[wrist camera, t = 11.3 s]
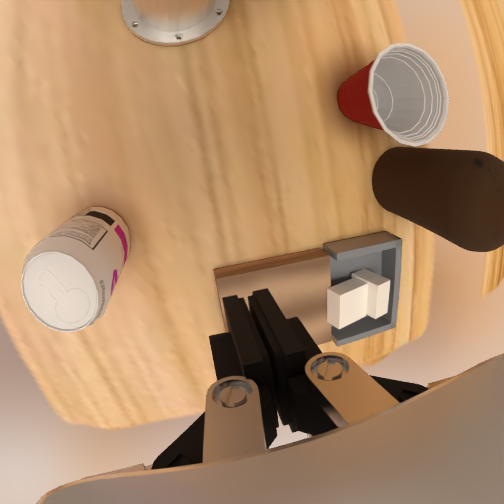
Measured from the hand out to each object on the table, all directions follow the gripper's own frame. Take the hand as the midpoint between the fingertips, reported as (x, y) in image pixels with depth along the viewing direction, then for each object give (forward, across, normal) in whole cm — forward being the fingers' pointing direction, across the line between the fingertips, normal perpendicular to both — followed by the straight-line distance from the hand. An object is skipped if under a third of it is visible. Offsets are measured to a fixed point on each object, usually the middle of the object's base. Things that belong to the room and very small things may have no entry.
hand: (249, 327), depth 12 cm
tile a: (+25, -16, +15) cm, 33 cm away
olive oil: (+27, -27, +1) cm, 38 cm away
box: (+27, -20, +15) cm, 37 cm away
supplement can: (+27, +13, +2) cm, 30 cm away
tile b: (+24, -19, +15) cm, 34 cm away
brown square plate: (+27, -7, +15) cm, 32 cm away
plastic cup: (+27, -21, -10) cm, 36 cm away
